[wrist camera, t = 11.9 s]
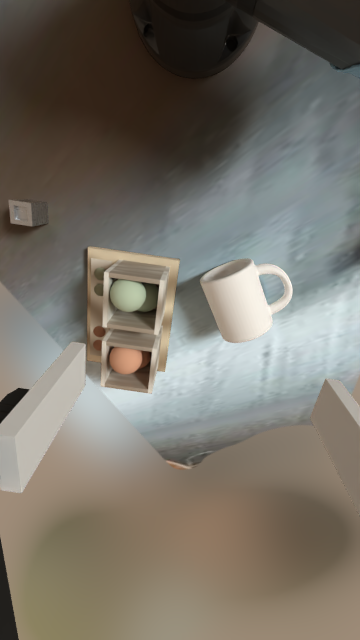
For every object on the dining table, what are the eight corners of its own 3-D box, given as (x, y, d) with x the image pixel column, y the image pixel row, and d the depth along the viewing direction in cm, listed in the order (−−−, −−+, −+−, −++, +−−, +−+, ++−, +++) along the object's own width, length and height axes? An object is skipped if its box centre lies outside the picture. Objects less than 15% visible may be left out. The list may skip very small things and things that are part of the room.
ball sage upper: (126, 276, 42) (105, 271, 38) (154, 281, 41) (137, 276, 36) (120, 309, 43) (99, 307, 38) (148, 315, 41) (130, 314, 37)
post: (27, 199, 43) (8, 199, 39) (47, 202, 43) (30, 203, 39) (28, 220, 44) (10, 223, 40) (48, 223, 44) (32, 226, 40)
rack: (90, 246, 45) (65, 257, 37) (179, 259, 45) (175, 273, 37) (89, 357, 53) (68, 387, 45) (165, 368, 53) (159, 400, 45)
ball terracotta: (123, 344, 47) (110, 334, 43) (150, 350, 46) (139, 341, 41) (113, 373, 46) (98, 366, 41) (140, 380, 44) (128, 374, 40)
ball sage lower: (130, 274, 45) (127, 285, 41) (161, 277, 45) (161, 288, 41) (129, 302, 47) (125, 315, 43) (158, 305, 47) (158, 318, 43)
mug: (220, 326, 49) (224, 349, 42) (199, 273, 46) (199, 288, 39) (291, 302, 47) (308, 321, 40) (273, 243, 44) (289, 253, 36)
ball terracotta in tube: (125, 332, 49) (118, 350, 45) (153, 336, 49) (149, 354, 45) (124, 354, 51) (118, 373, 47) (151, 358, 51) (148, 377, 47)
